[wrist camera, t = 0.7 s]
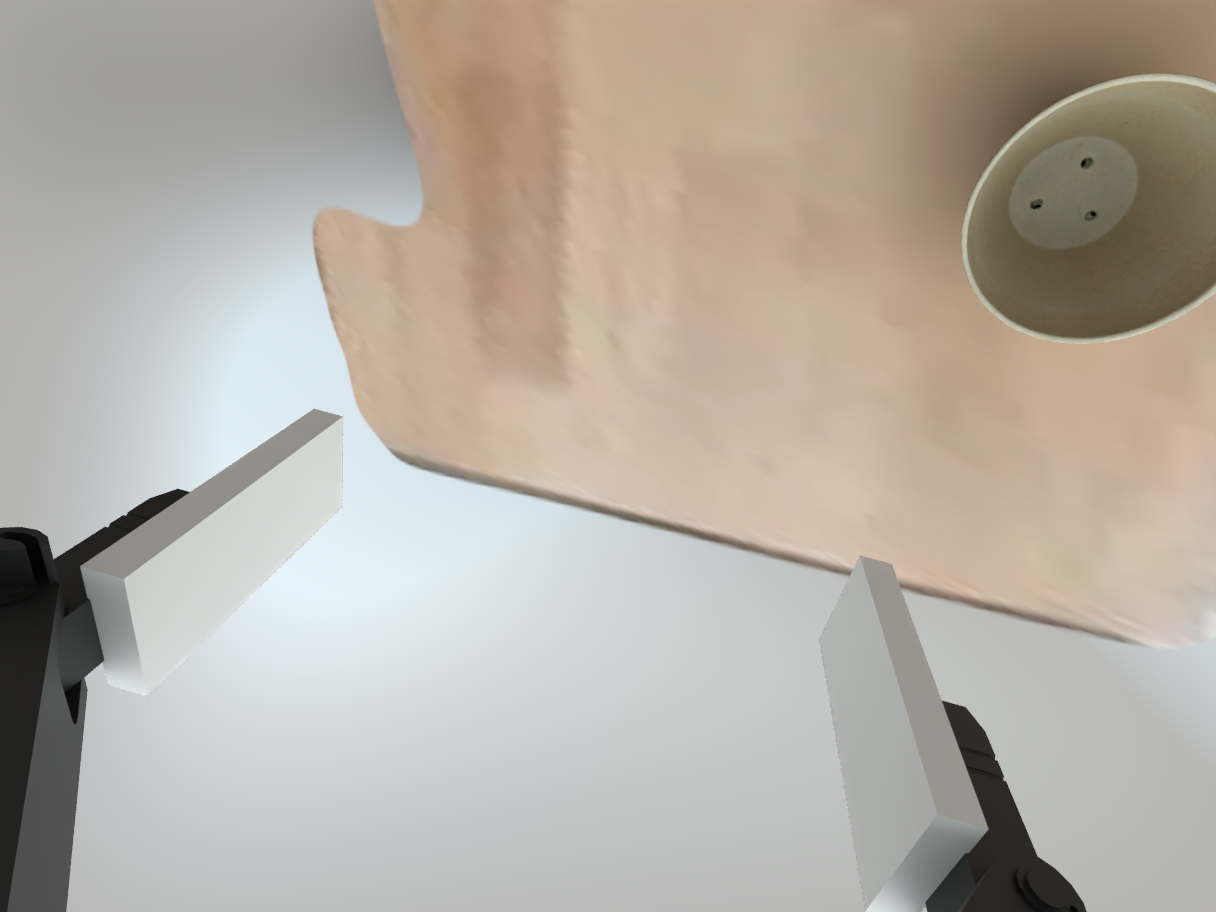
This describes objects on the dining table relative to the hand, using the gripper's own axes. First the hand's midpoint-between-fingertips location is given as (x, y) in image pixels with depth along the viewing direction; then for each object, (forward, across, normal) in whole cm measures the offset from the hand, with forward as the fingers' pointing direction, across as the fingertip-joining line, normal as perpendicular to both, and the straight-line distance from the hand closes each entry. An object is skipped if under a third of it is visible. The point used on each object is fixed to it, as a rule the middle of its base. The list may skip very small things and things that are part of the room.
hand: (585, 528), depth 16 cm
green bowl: (+23, +17, +10) cm, 31 cm away
